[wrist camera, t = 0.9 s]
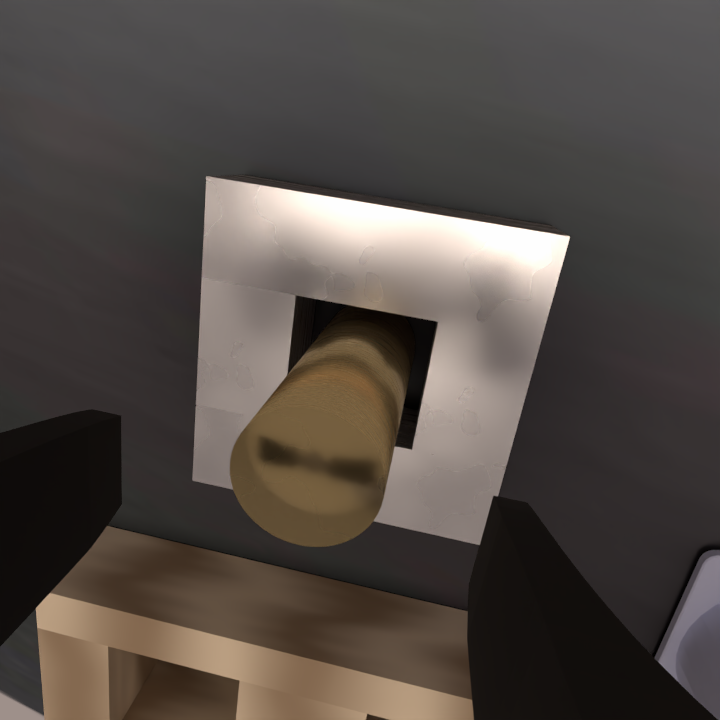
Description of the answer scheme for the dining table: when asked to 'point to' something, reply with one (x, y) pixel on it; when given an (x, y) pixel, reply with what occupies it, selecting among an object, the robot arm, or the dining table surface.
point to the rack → (240, 642)
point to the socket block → (383, 293)
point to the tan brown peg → (328, 432)
